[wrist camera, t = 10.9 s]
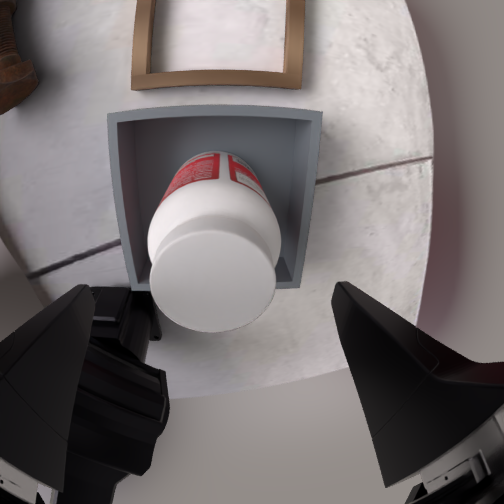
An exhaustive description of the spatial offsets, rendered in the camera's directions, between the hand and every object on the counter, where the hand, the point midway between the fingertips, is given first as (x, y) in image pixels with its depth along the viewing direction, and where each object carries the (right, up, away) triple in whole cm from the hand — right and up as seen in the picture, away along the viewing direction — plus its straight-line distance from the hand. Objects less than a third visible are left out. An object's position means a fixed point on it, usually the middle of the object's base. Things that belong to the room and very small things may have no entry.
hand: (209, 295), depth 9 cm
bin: (-1, +6, +10) cm, 12 cm away
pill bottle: (-1, +6, +10) cm, 12 cm away
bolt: (-19, +20, +1) cm, 27 cm away
